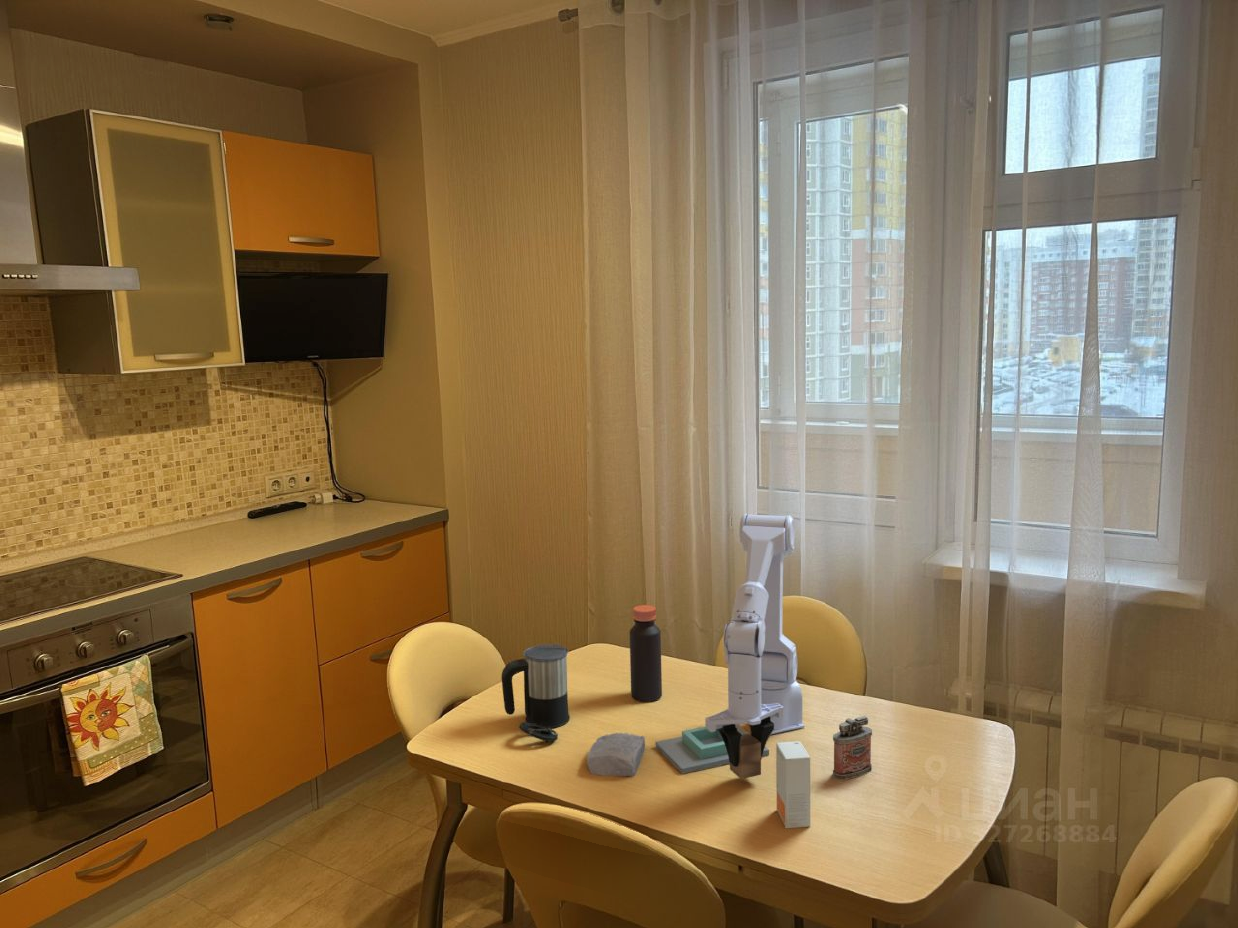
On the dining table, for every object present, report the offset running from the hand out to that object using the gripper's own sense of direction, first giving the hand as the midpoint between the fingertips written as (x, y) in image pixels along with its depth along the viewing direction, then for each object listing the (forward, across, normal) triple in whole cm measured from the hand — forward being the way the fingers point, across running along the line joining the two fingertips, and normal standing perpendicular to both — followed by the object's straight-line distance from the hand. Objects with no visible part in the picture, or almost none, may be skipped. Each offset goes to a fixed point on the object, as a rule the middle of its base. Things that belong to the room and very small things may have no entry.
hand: (745, 761), depth 161 cm
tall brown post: (+2, 0, 0) cm, 2 cm away
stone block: (+4, -18, +17) cm, 25 cm away
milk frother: (+4, -26, +36) cm, 45 cm away
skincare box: (+4, +1, -14) cm, 15 cm away
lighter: (+4, +19, -5) cm, 20 cm away
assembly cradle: (+4, 0, +13) cm, 14 cm away
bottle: (+4, -1, +42) cm, 42 cm away
